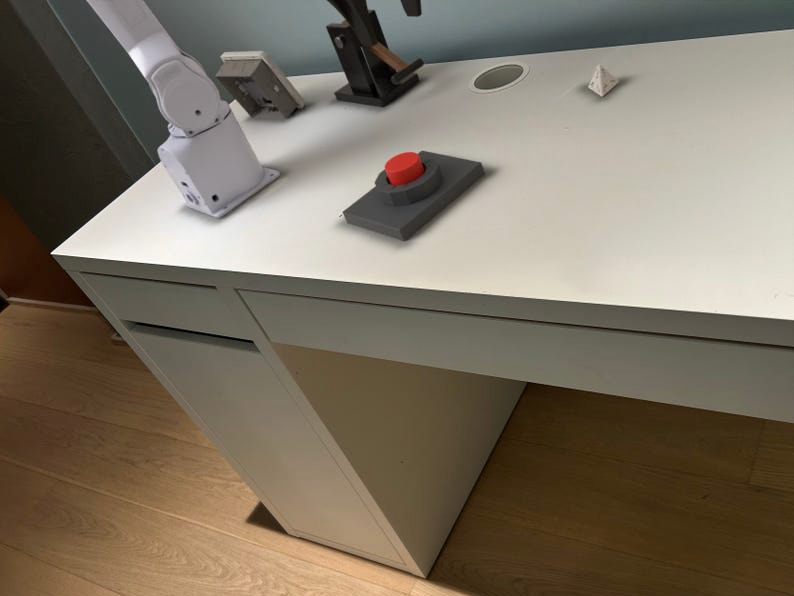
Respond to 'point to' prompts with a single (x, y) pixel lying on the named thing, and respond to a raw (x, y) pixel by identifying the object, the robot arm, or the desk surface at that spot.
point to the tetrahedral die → (602, 81)
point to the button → (404, 168)
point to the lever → (394, 61)
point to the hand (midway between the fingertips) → (392, 29)
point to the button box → (413, 196)
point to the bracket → (366, 68)
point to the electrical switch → (258, 84)
